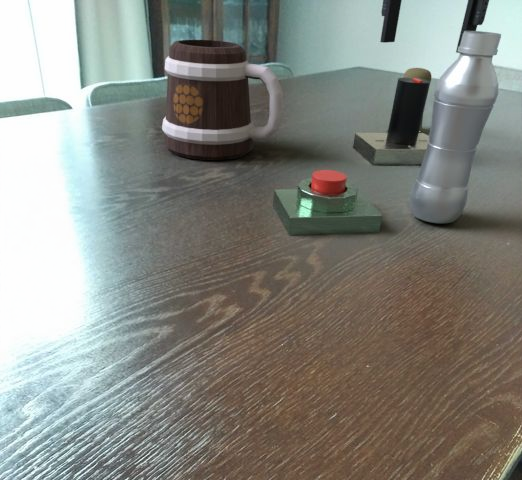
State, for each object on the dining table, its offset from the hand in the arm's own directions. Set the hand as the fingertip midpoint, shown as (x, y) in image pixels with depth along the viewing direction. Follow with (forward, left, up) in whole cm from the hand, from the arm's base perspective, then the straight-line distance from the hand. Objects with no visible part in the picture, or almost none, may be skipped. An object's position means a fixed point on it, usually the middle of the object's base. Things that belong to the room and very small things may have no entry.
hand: (423, 47), depth 75 cm
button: (+21, +26, -12) cm, 36 cm away
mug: (+30, -3, -16) cm, 34 cm away
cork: (-9, -17, -16) cm, 25 cm away
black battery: (0, 0, -13) cm, 13 cm away
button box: (+21, +26, -16) cm, 37 cm away
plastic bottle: (+7, +27, -16) cm, 32 cm away
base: (0, 0, -16) cm, 16 cm away
